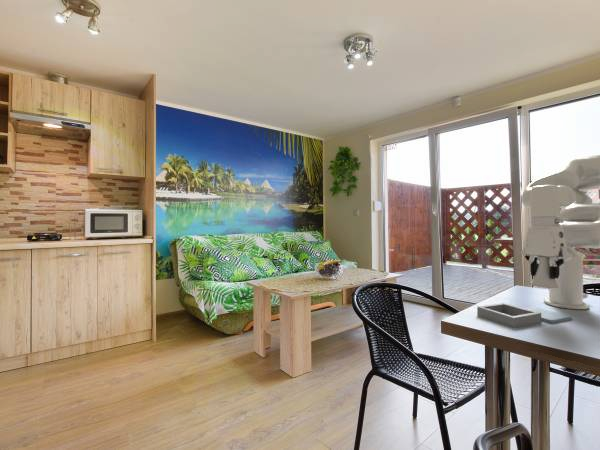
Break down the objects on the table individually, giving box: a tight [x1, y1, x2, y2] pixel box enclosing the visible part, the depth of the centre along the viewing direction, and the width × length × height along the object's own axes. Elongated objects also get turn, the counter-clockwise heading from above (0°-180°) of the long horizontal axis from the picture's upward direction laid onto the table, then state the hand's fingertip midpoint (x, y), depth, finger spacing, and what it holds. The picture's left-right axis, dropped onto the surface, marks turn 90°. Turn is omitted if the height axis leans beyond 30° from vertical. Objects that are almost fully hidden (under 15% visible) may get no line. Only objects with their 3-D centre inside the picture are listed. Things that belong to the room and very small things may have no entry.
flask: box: [530, 256, 559, 289], centre depth 99 cm, size 7×7×10 cm
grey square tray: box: [476, 302, 542, 328], centre depth 98 cm, size 12×12×3 cm
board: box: [529, 307, 573, 324], centre depth 99 cm, size 10×10×1 cm
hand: (544, 276), depth 99 cm, fingers closed on flask, 5 cm apart
